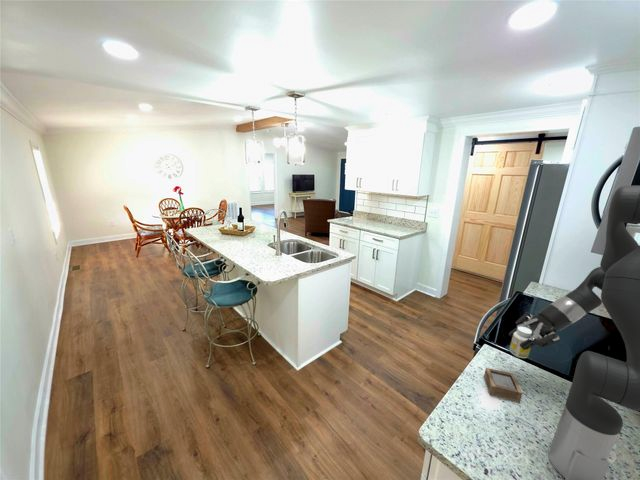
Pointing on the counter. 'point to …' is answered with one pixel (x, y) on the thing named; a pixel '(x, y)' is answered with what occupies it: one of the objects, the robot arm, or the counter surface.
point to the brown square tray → (501, 390)
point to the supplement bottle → (517, 339)
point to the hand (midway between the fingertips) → (516, 341)
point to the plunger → (502, 380)
